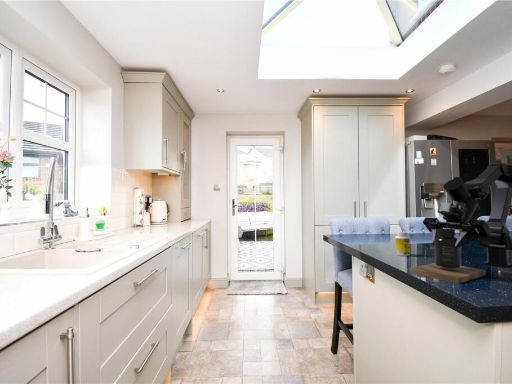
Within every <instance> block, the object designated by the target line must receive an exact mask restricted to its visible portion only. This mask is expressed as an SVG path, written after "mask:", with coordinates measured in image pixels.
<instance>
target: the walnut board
mask: <svg viewBox="0 0 512 384" xmlns="http://www.w3.org/2000/svg"><path fill="white" fill-rule="evenodd" d="M409 274H413V275H419V276H422V277H426V276H427V278H430V279H431V278H432V279H435V280H440V281H445V282H450V283H453V284H458V285H459V284H461V283H462V284H463V283H465V282H468V281H472V280H474V279H478V278H480V277H484V276H487V271H486V269H480V268H474V267H469V266H464V265H463V266H462V265H460V267H459V268H446V267H440V266H437V265H436V264H435V262H433V263H427V264H424V265H418V266H414V267H409Z"/></svg>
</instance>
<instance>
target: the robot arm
mask: <svg viewBox="0 0 512 384" xmlns="http://www.w3.org/2000/svg"><path fill="white" fill-rule="evenodd" d="M493 184H495V185H496V191H495V194H494V198H493V202H492V207H491V210H490V213H489V217H488V220H486V221H485V219H474V218H473V215H474V213H475V211H480V210H481V207H480V205H479V202H478V200H485V199H486V198H487V197H488V195H489V194H490V192H491V190H490V187H491V186H492V185H493ZM442 188H443V189H444V191H445V193H446V194H447V195H448V197H449V198H450V200H451V201H452V202H455V203H452V202H441V203H439V205H438V208H437V213H438V214H441V215H442V219H443V221H440V220H439V219H438V217H424V218H423V221H422V223H423V225H424V226H425V228H426V230H428V232H429V233H431V244H432V246H434V239H435V238H436V237H438V235H437V229H454V230H455V231H461V232H460V234H459V236H458V238H457V241H456V244H455V248H459V247H460V248H461V247H462V246H465V245H467V244H469V243H471V242H473V241H475V240H478V243H479V246H480V247H482V248H486V261H484V262H483V263H482V264H484V265H490V266H497V267H502V268H507V267H510V266H512V263H511V262H510V263H509V262H508V261H509V256H508V251H510V250H511V251H512V236H511V235H510V233H511V231H510V230H509V227H508V226H507V225H506V224H507V219H508V215H509V212H510V208H511V204H512V165H510V164H508V163H506V162H499V163H490V164H488V165H487V167H486V169H485V170H483V171H482V172H481V173H480V174H479V175H478V176H477V177H476V178H474V179H472V180H468V181H466V182H464V181H463V178H462V177H461V176H454V178H453V179H450V180H448V181H446V182H445V183H444V184H443V186H442Z"/></svg>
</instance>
